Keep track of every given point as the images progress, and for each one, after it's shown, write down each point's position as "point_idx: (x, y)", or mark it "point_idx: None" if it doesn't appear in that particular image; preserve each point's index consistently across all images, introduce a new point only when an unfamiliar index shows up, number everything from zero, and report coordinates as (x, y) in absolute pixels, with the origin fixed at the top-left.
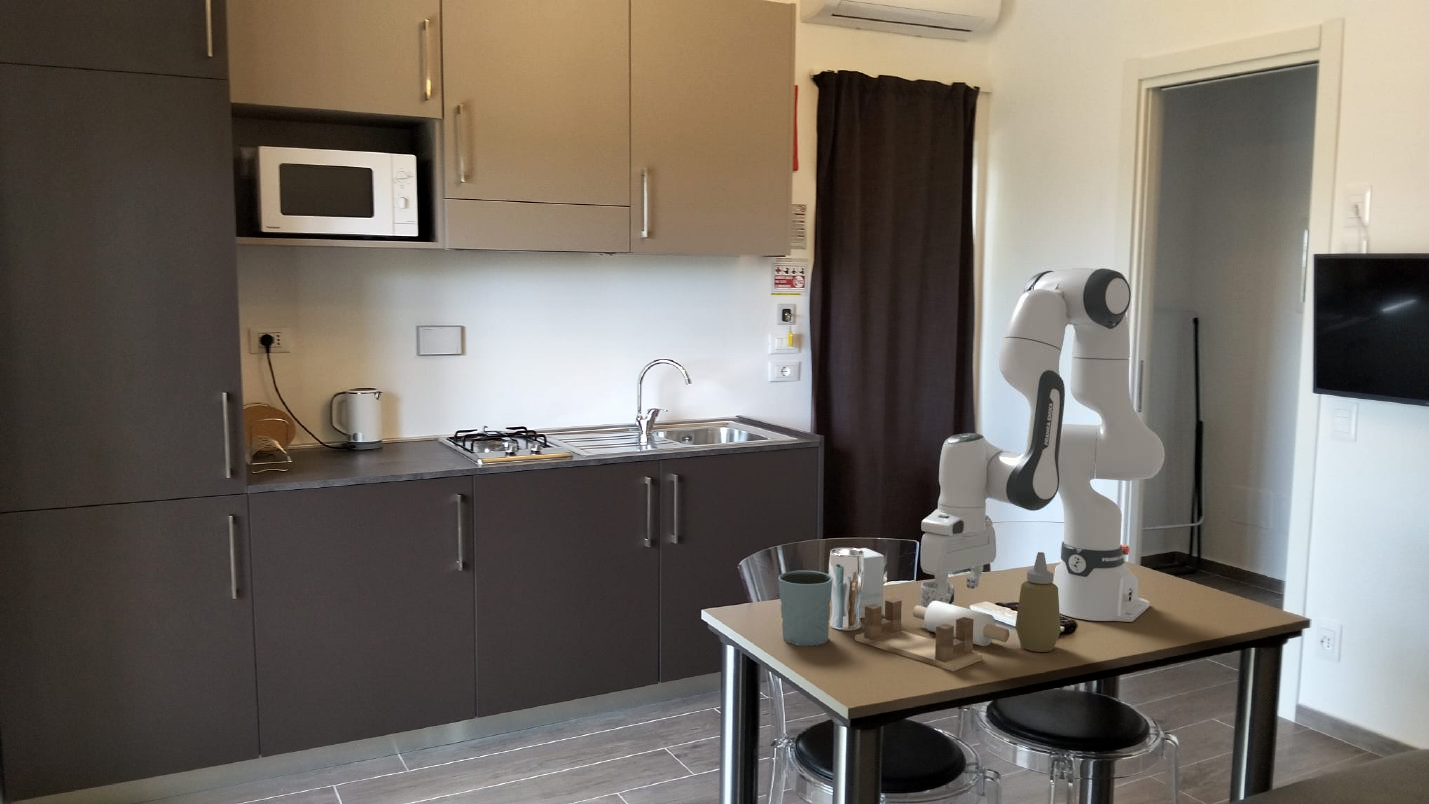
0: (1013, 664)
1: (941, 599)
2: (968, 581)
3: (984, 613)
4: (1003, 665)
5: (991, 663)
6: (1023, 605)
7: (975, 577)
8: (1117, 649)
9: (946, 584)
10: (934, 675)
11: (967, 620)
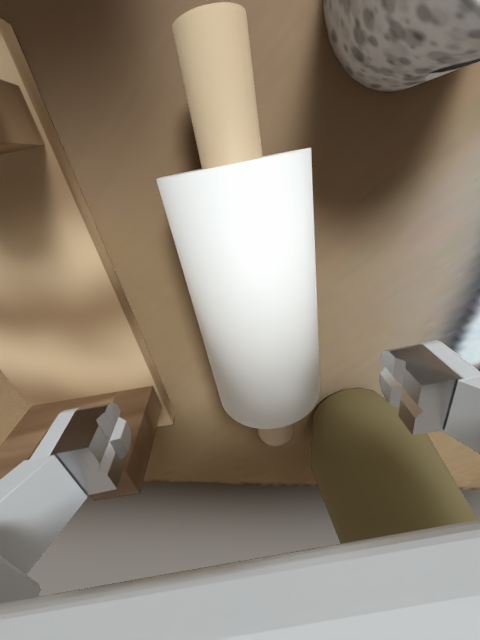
0: (215, 448)
1: (414, 37)
2: (407, 383)
3: (281, 415)
4: (192, 445)
5: (177, 431)
6: (346, 530)
7: (460, 427)
8: (453, 468)
9: (54, 524)
10: (8, 430)
11: (111, 493)
